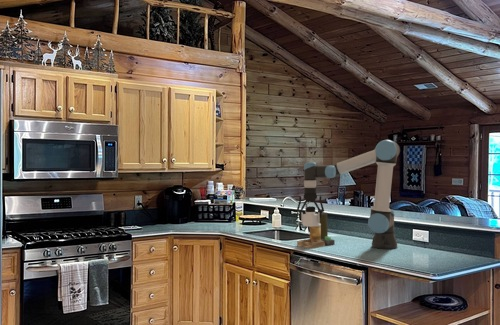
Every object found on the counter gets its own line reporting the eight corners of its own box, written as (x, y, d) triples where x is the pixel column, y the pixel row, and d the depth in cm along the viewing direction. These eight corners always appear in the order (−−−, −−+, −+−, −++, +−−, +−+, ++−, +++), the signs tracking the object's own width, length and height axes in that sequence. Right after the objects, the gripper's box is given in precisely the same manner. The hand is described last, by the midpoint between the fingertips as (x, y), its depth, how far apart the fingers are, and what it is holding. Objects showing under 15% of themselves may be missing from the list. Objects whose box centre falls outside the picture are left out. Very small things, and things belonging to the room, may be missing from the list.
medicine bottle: (318, 225, 303) (318, 206, 303) (311, 226, 298) (311, 207, 298) (309, 224, 308) (309, 205, 308) (302, 225, 303) (302, 206, 303)
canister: (327, 239, 327) (327, 210, 327) (312, 239, 329) (311, 209, 330) (328, 237, 338) (328, 208, 338) (313, 237, 340) (313, 208, 340)
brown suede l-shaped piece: (334, 244, 307) (334, 224, 307) (310, 248, 294) (310, 227, 295) (316, 241, 320) (316, 222, 320) (293, 245, 307) (293, 225, 307)
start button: (332, 243, 308) (332, 237, 308) (327, 243, 305) (327, 237, 305) (327, 242, 311) (327, 236, 311) (323, 243, 308) (323, 236, 308)
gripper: (328, 186, 305) (328, 222, 305) (292, 187, 308) (292, 222, 308) (328, 187, 298) (328, 224, 298) (292, 187, 301) (292, 223, 301)
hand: (310, 223), depth 303 cm, fingers closed on medicine bottle, 10 cm apart
